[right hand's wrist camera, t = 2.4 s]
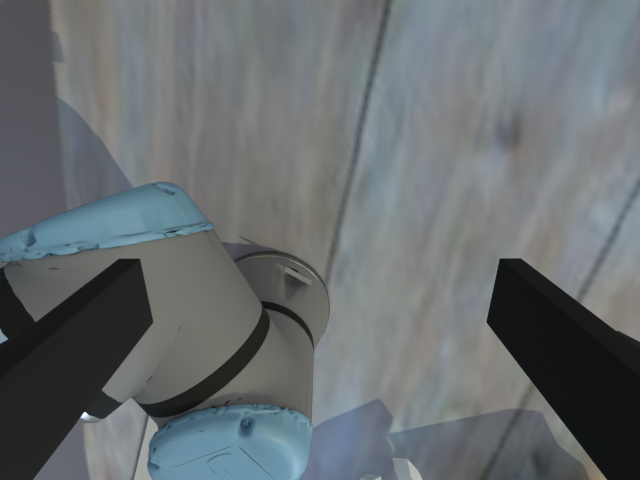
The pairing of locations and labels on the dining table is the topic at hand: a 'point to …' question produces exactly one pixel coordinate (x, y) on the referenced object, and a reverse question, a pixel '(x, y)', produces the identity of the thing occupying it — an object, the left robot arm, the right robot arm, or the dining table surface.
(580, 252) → the dining table surface
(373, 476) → the white plastic object
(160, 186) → the right robot arm
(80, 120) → the dining table surface
